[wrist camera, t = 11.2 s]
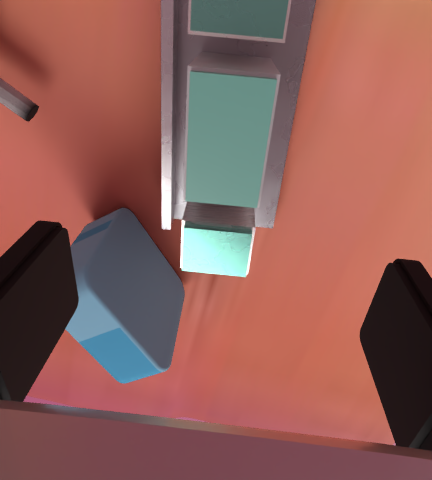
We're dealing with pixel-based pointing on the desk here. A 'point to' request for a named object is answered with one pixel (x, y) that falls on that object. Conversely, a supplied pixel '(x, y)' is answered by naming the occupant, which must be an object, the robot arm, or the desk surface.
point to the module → (228, 128)
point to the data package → (125, 298)
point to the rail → (174, 116)
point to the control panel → (17, 101)
